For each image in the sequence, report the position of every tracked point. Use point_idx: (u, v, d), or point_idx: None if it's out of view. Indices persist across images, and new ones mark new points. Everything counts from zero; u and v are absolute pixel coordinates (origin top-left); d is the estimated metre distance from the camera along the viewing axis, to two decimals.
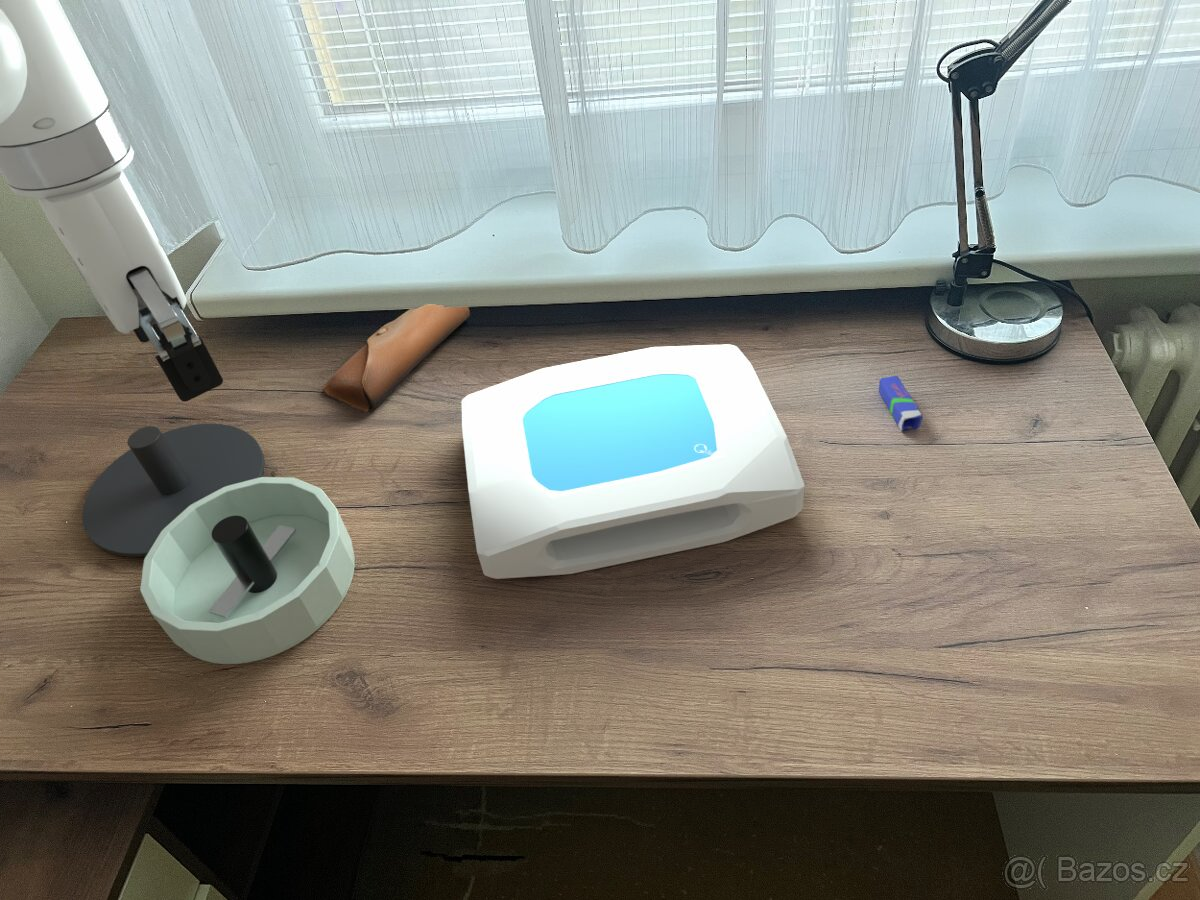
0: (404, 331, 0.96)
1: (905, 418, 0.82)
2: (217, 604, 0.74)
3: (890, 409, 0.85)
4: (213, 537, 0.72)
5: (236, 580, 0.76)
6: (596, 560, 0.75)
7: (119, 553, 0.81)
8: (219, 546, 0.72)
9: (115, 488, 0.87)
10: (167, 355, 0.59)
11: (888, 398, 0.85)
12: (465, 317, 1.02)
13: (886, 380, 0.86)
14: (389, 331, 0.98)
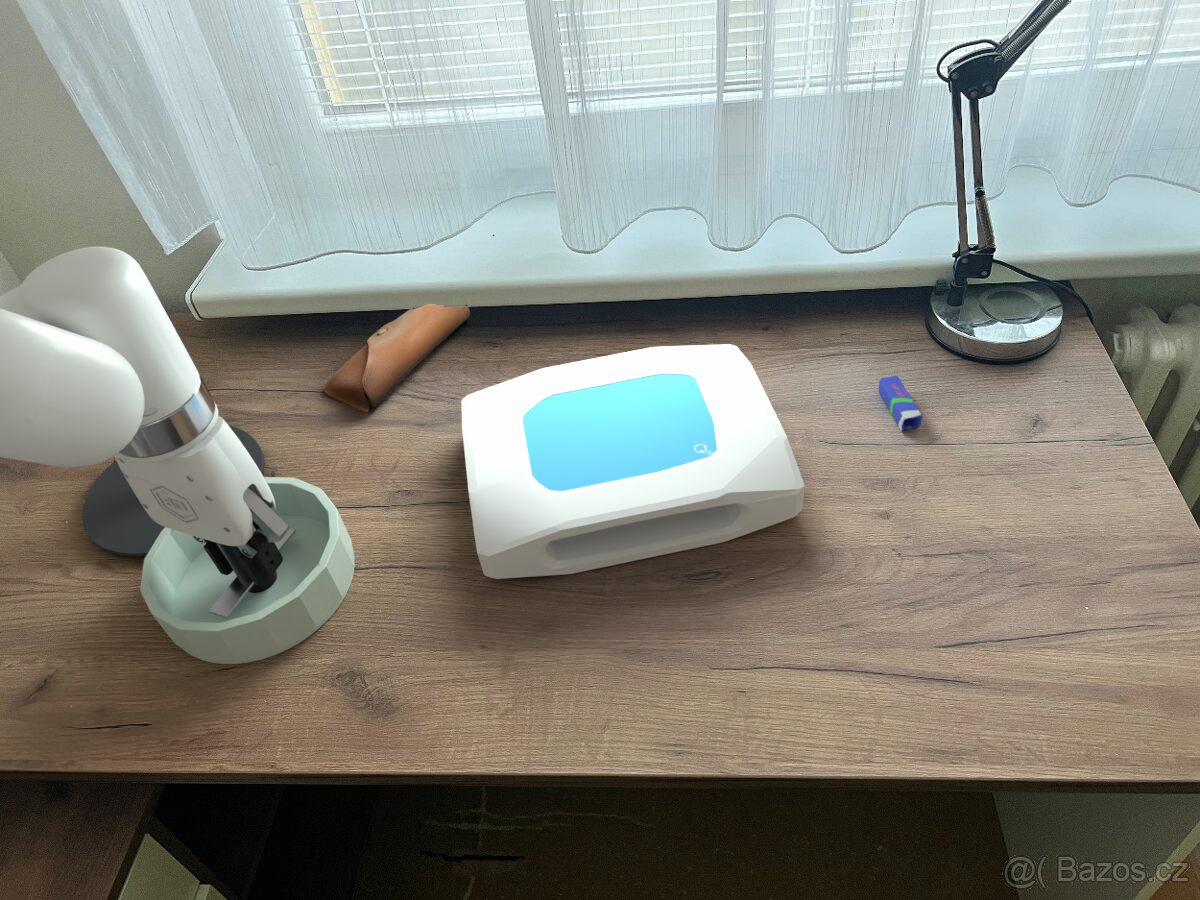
0: (404, 331, 0.96)
1: (905, 418, 0.82)
2: (217, 604, 0.74)
3: (890, 409, 0.85)
4: None
5: (236, 580, 0.76)
6: (596, 560, 0.75)
7: (119, 553, 0.81)
8: (219, 546, 0.72)
9: (115, 488, 0.87)
10: (255, 551, 0.72)
11: (888, 398, 0.85)
12: (465, 317, 1.02)
13: (886, 380, 0.86)
14: (389, 331, 0.98)
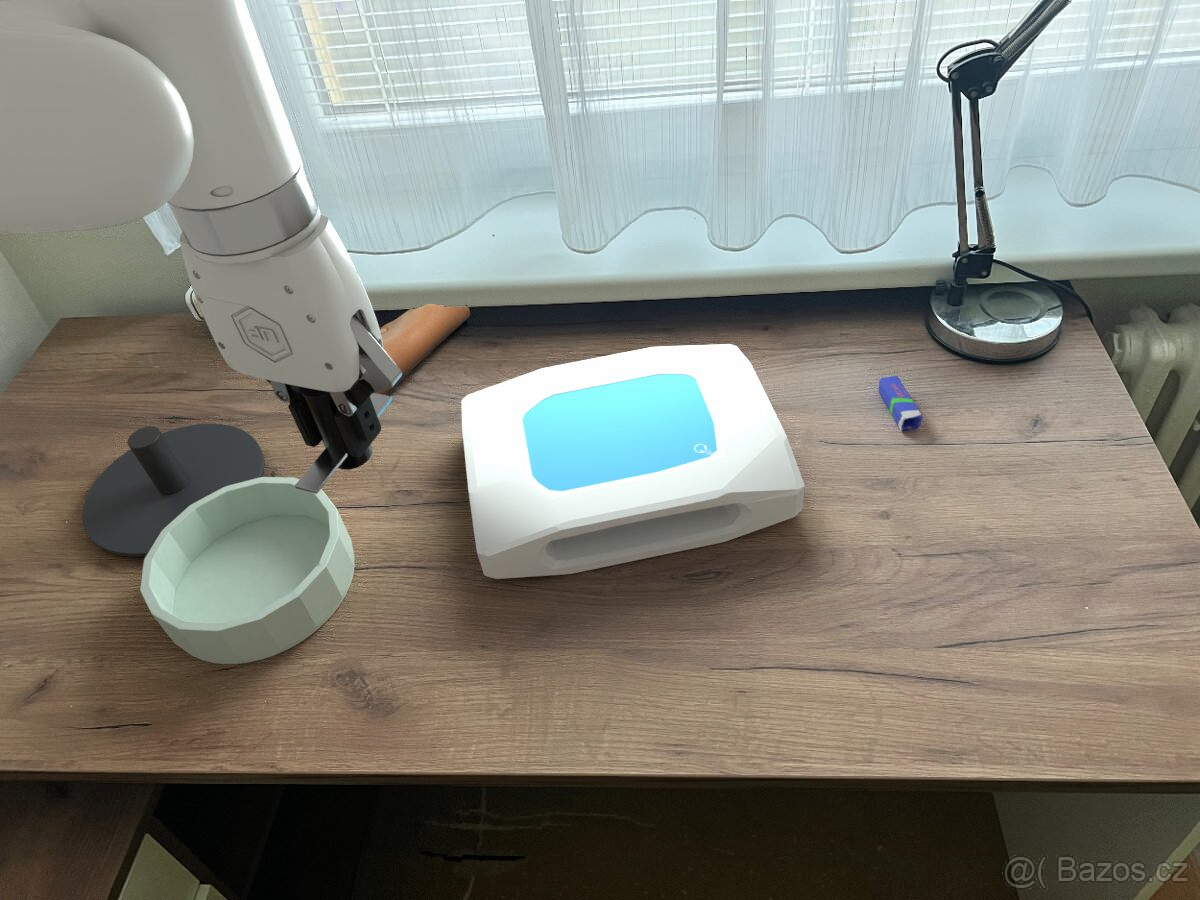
0: (404, 331, 0.96)
1: (905, 418, 0.82)
2: (304, 478, 0.60)
3: (890, 409, 0.85)
4: (302, 391, 0.58)
5: (325, 452, 0.62)
6: (596, 560, 0.75)
7: (119, 553, 0.81)
8: (309, 402, 0.58)
9: (115, 488, 0.87)
10: (355, 407, 0.58)
11: (888, 398, 0.85)
12: (466, 317, 1.02)
13: (886, 380, 0.86)
14: (389, 331, 0.98)
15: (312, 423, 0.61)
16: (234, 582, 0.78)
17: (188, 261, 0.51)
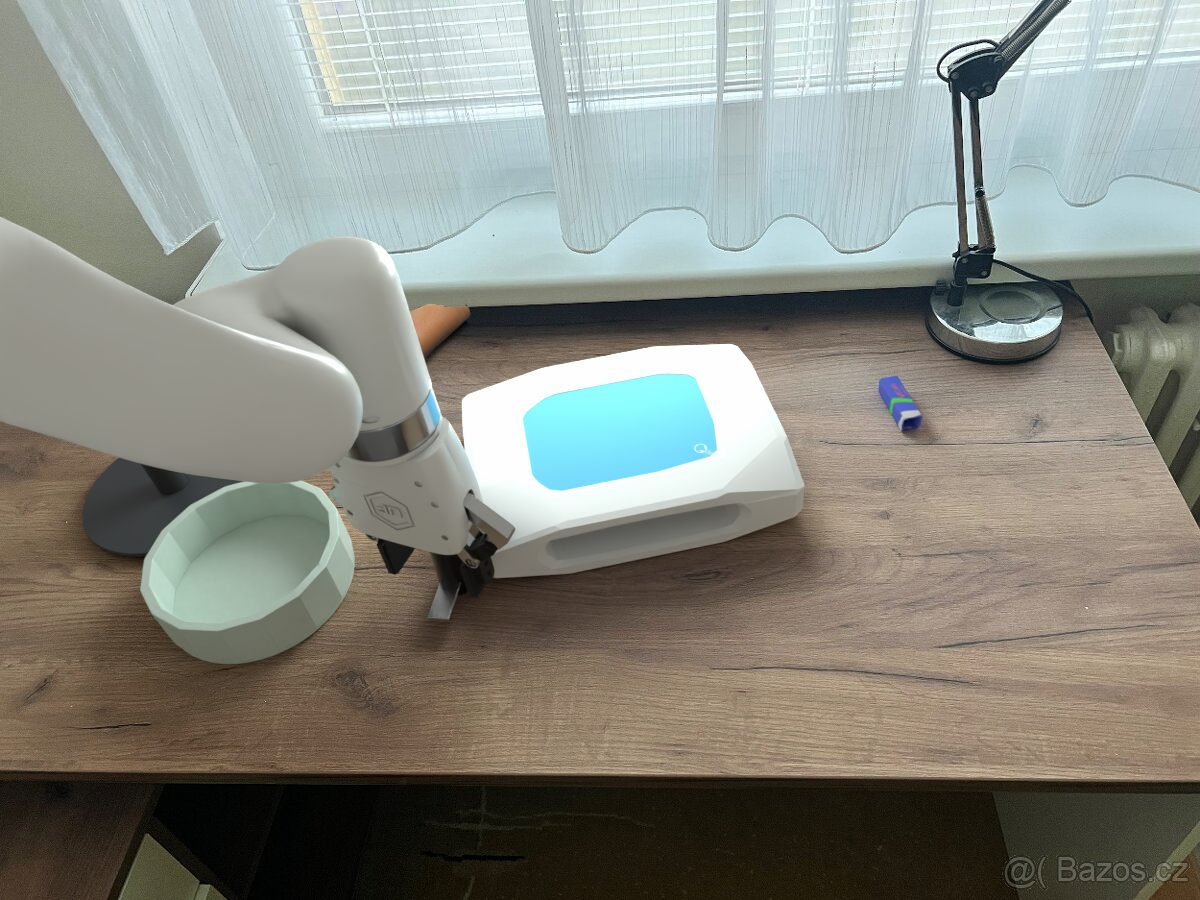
0: None
1: (905, 418, 0.82)
2: (434, 609, 0.72)
3: (890, 409, 0.85)
4: None
5: (442, 584, 0.74)
6: (596, 559, 0.75)
7: (119, 553, 0.81)
8: None
9: (115, 488, 0.87)
10: (479, 561, 0.67)
11: (888, 398, 0.85)
12: (466, 317, 1.02)
13: (885, 380, 0.86)
14: None
15: (395, 556, 0.72)
16: (234, 582, 0.78)
17: None
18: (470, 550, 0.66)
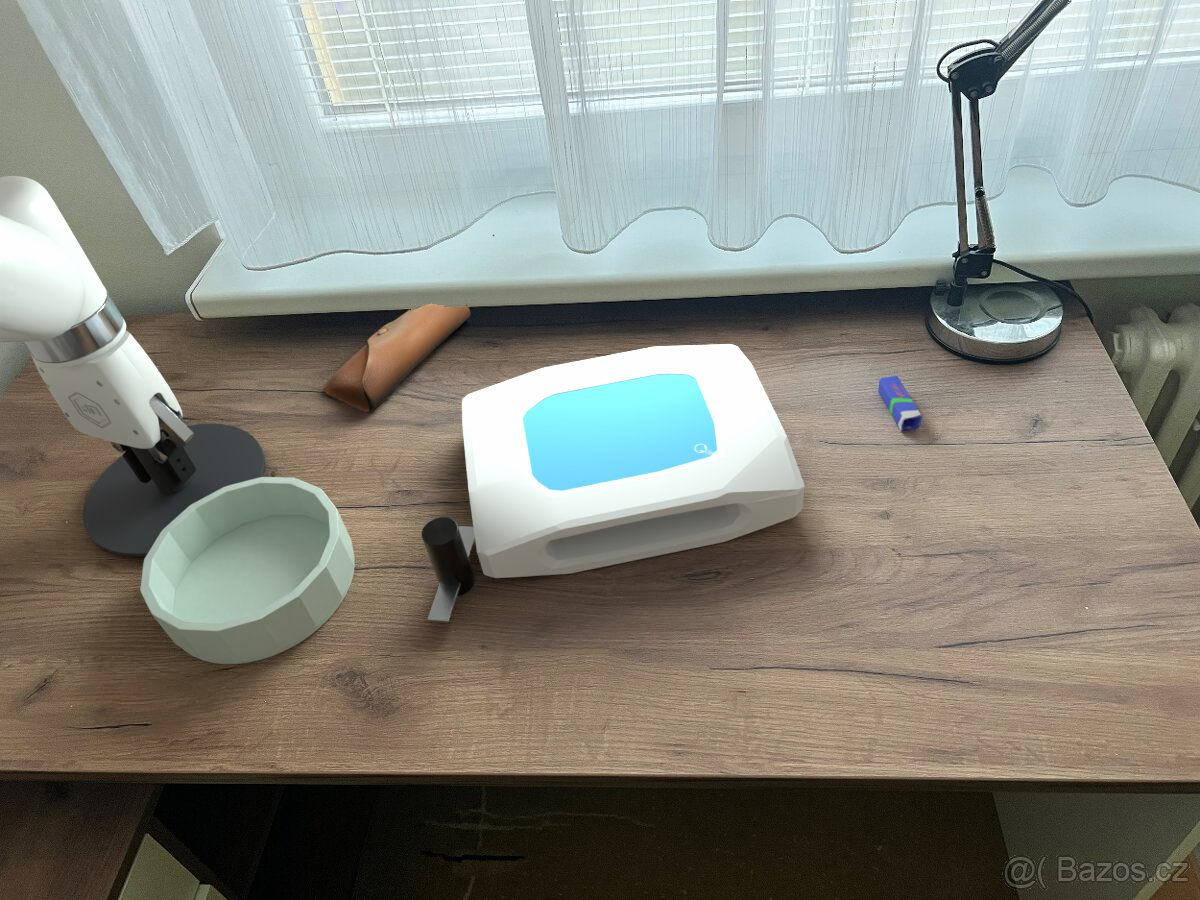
0: (405, 331, 0.96)
1: (905, 418, 0.82)
2: (433, 611, 0.72)
3: (890, 409, 0.85)
4: (427, 541, 0.70)
5: (441, 585, 0.74)
6: (596, 559, 0.75)
7: (120, 553, 0.81)
8: (434, 549, 0.70)
9: (116, 488, 0.87)
10: (166, 457, 0.81)
11: (888, 398, 0.85)
12: (466, 318, 1.02)
13: (885, 380, 0.86)
14: (389, 331, 0.98)
15: None
16: (234, 582, 0.78)
17: (35, 361, 0.75)
18: None
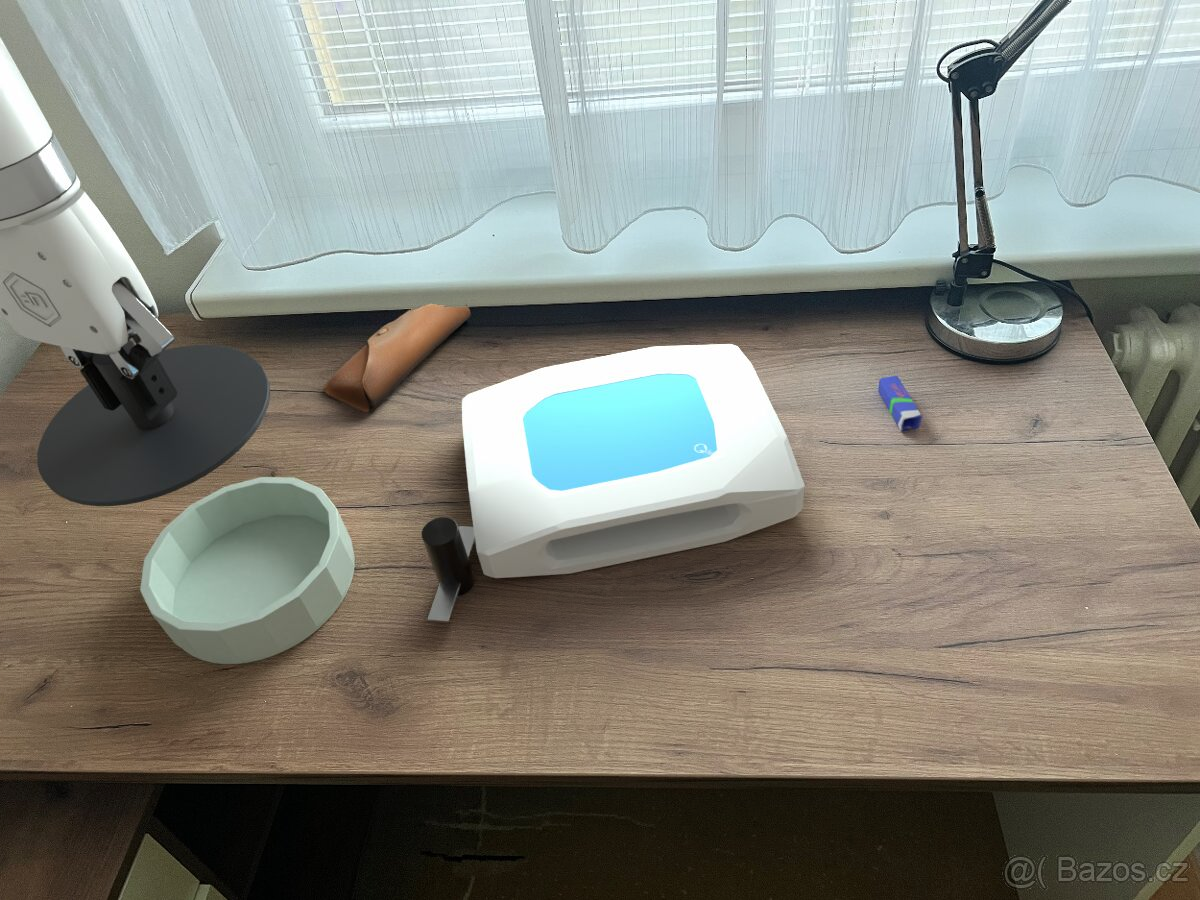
0: (405, 331, 0.96)
1: (905, 418, 0.82)
2: (433, 611, 0.72)
3: (890, 409, 0.85)
4: (427, 541, 0.70)
5: (441, 585, 0.74)
6: (596, 559, 0.75)
7: (92, 503, 0.62)
8: (434, 549, 0.70)
9: (78, 427, 0.68)
10: (137, 370, 0.62)
11: (888, 398, 0.85)
12: (466, 318, 1.02)
13: (885, 380, 0.86)
14: (389, 331, 0.98)
15: (108, 387, 0.65)
16: (234, 582, 0.78)
17: None
18: None
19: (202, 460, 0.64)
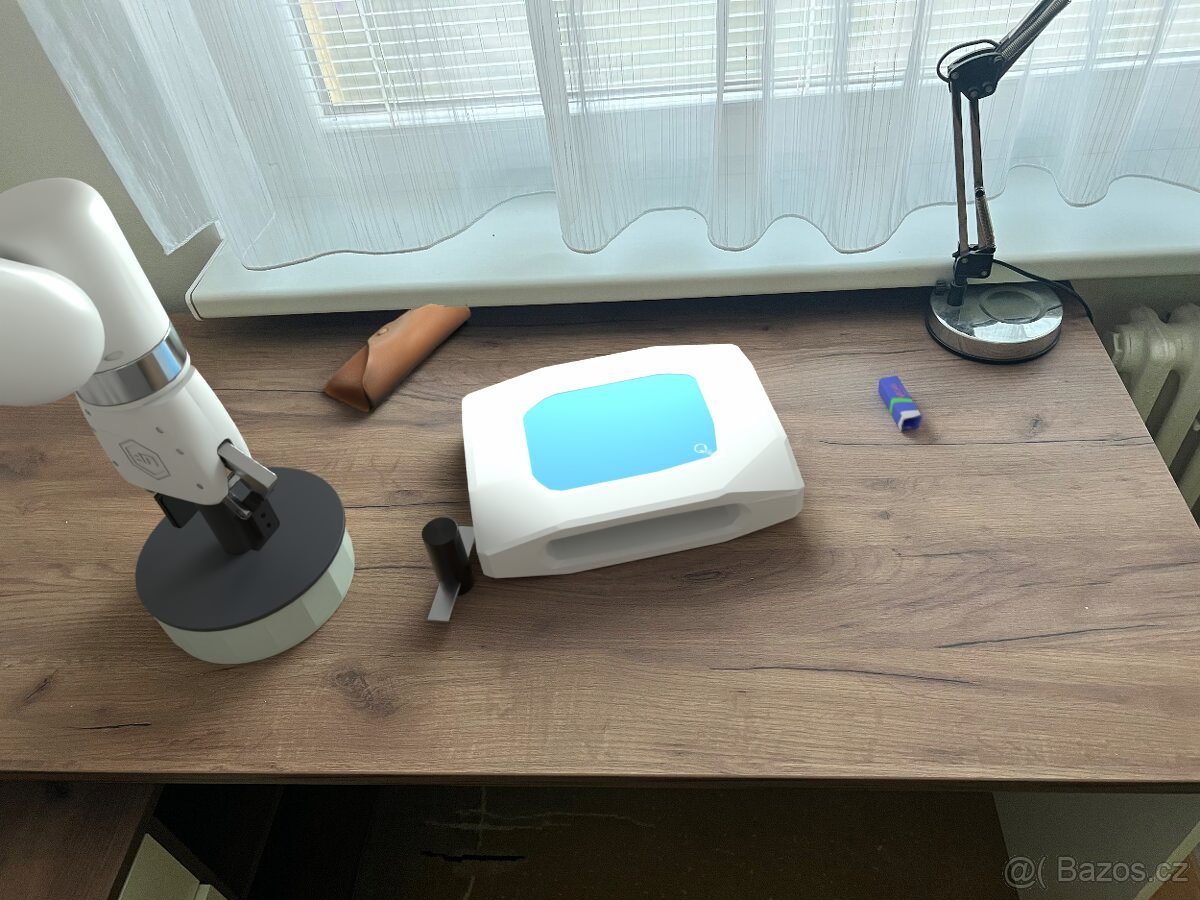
0: (405, 331, 0.96)
1: (904, 418, 0.82)
2: (433, 611, 0.72)
3: (890, 409, 0.85)
4: (427, 541, 0.70)
5: (441, 585, 0.74)
6: (596, 559, 0.75)
7: (190, 629, 0.69)
8: (434, 549, 0.70)
9: (171, 550, 0.74)
10: (250, 512, 0.67)
11: (888, 398, 0.85)
12: (466, 318, 1.02)
13: (885, 380, 0.86)
14: (389, 331, 0.98)
15: (177, 509, 0.72)
16: None
17: (80, 402, 0.62)
18: (238, 501, 0.66)
19: (288, 588, 0.70)
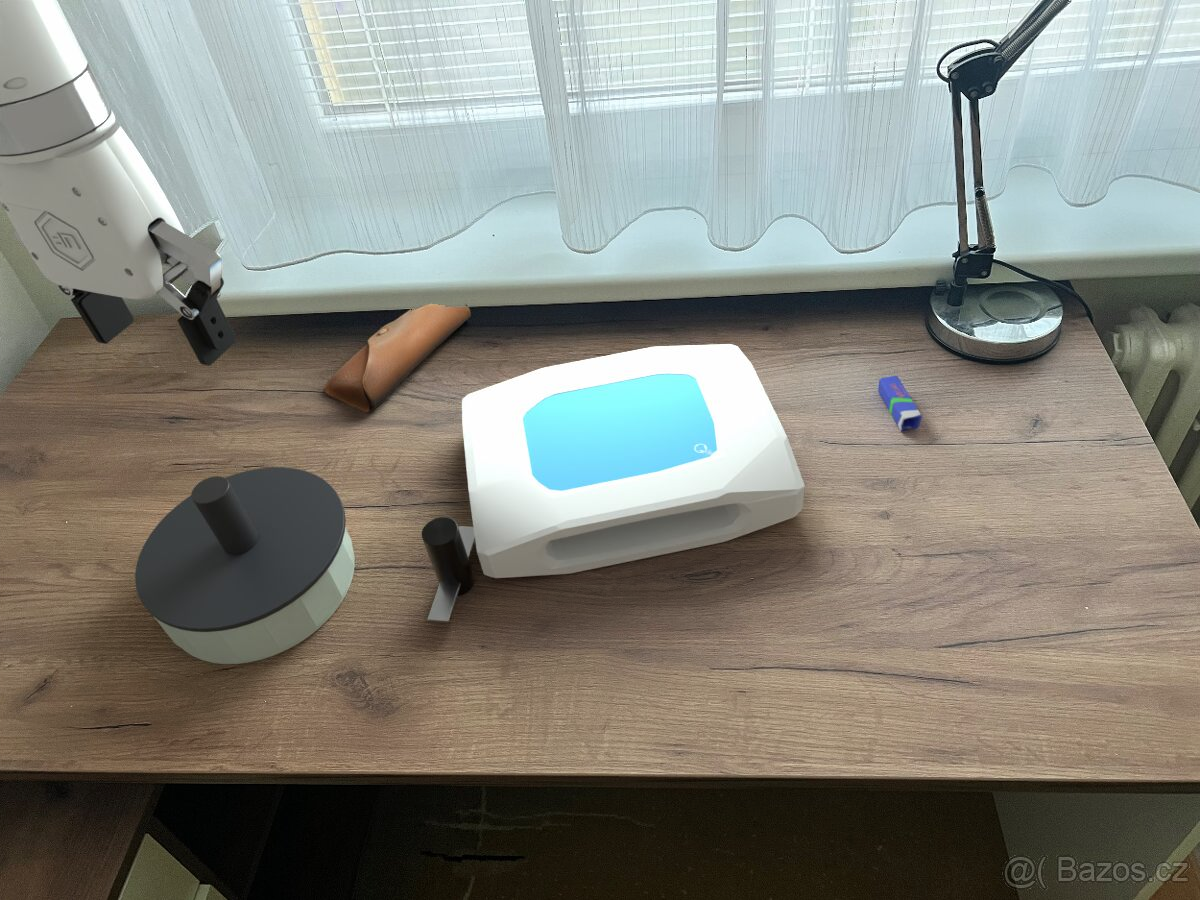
0: (405, 331, 0.96)
1: (904, 418, 0.82)
2: (433, 611, 0.72)
3: (889, 409, 0.85)
4: (427, 541, 0.70)
5: (441, 585, 0.74)
6: (596, 559, 0.75)
7: (190, 629, 0.69)
8: (434, 549, 0.70)
9: (171, 550, 0.74)
10: (197, 310, 0.58)
11: (887, 398, 0.85)
12: (466, 318, 1.02)
13: (885, 380, 0.86)
14: (389, 331, 0.98)
15: (100, 319, 0.63)
16: None
17: None
18: None
19: (288, 588, 0.70)
